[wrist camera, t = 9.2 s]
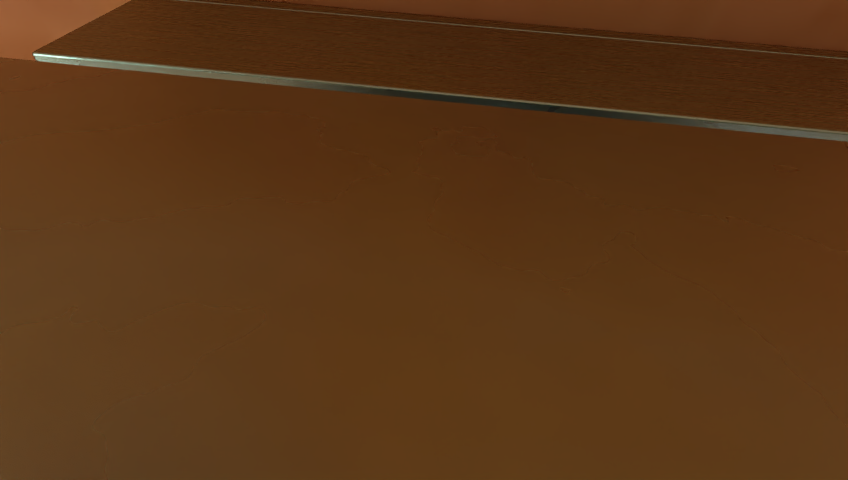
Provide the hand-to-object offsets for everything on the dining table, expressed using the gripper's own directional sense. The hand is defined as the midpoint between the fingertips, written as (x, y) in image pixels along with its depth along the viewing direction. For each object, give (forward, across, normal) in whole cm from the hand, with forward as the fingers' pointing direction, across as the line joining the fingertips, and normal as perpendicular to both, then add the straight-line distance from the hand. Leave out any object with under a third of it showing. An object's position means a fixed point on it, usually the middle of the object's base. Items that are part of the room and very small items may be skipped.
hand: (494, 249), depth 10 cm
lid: (-6, 0, -5) cm, 7 cm away
